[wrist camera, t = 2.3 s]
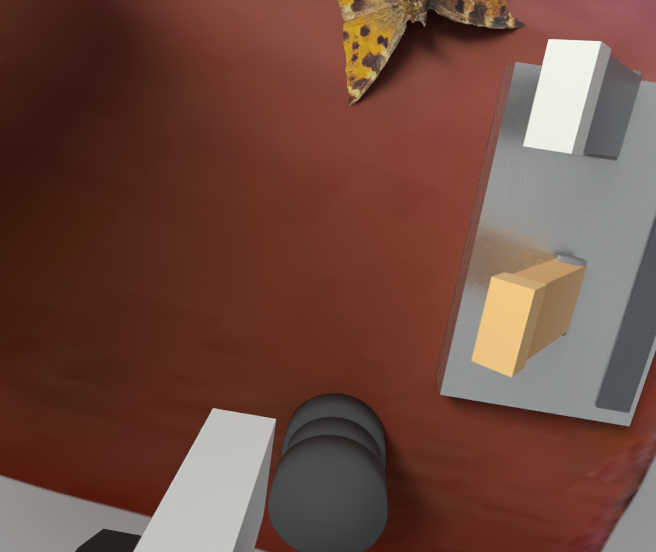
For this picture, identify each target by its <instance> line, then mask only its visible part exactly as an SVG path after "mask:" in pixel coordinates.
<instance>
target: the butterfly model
mask: <svg viewBox="0 0 656 552" xmlns="http://www.w3.org/2000/svg"><path fill="white" fill-rule="evenodd" d="M338 3H339V5H340V7H341V12H342V17H343V19H344V21H345V23H344V30H343V40H344V48H345V52H346V61H347V65H346V69H345V70H346V73H347V79H348V80H347V88H348V90H349V104H350V106H351V105H353V104H354V103H355V102H357V101H358V100H359V99H360V98H361V96H362V95H363V94H364V93H365V92H366V91H367V90H368V88H369V87H370V86H371V85H372V83H373V82H374V81H375V79H376V78H377V77H378V75H379V74H380V71H381V70H382V69H383V67H384V65H385V64H386V62H387V61H388V59H389V57H390V56H391V54H392V53H393V51H394V50H395V48H396V47H397V45H398V43H399V41H400V39H401V37H402V36H403V34H404V31H405V29H406V23H407V21H408V20H411V22H412V23H414V22H416V21H419V22H421V23H422V24H423V25H424V27H425V25H426V19H427V12H429V11H430V10H433V11H435V12H436V13H437V14H438V15H441V16H444V17H446V18H448V19H451V20H453V21H455V22H459V23H464V24H471V25H476V26H478V27H487V28H492V29H504V28H510V29H513V28H518V27H522V26H524V24H523V23H522V22H519V21H517V18H515V19H514V18H512V16H511V14H510V12H509V11H508V7H507V6H508V5H507V3H506V2H505V0H338ZM461 20H462V21H461ZM354 34H355V35H354ZM362 34H363V35H362ZM356 36H357V38H356ZM382 39H383V40H382ZM348 42H349V43H348ZM357 53H358V55H357ZM352 56H353V57H352ZM352 63H353V65H352ZM376 65H377V66H376ZM348 66H349V67H348Z"/></svg>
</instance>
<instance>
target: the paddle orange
mask: <svg viewBox="0 0 656 552" xmlns="http://www.w3.org/2000/svg"><path fill="white" fill-rule="evenodd" d="M586 268H587V261H586V260H584V259H582V258H578V257H575V256H570V255H563V254H559V255H557V258H556V259H553V260H550V261H547V262H544V263H542V264H539V265H536V266H533V267H530V268H528V269H525V270H522V271H519V272H516V273H514V274H510V273H507V272H504V273H501V274H498V275H495V276H492V277H491V281H490V285H489V289H488V293H487V298H486V302H485V306H484V310H483V314H482V318H481V323H480V327H479V331H478V335H477V339H476V343H475V347H474V352H473V356H472V360H471V361H473V362H475V363H478V364H480V365H482V366H485V367H487V368H490V369H492V370H495V371H497V372H499V373H502V374H504V375H507V376H509V377H511V378H512V377H513V376H515V375H516V374H517V373H519V372H520V371H521V370H523V369H524V368H525V364H526V361H527V360H528V359H529V358H531V357H532V356H534V355H535V354H536V353H538V352H539V351H541V350H542V349H543V348H545V347H546V346H548V345H549V344H550V343H552V342H553V341H555V340H556V339H557V338H559V337H560V336H565V335H566V333H567V331H568V330H569V326H570V323H571V319H572V316H573V313H574V309H575V306H576V302H577V299H578V295H579V292H580V288H581V285H582V282H583V278H584V275H585V271H586Z"/></svg>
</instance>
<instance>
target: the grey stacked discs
mask: <svg viewBox="0 0 656 552" xmlns="http://www.w3.org/2000/svg"><path fill="white" fill-rule="evenodd" d="M385 463H386V456H385V434H384V428H383V425H382V423H381V421H380V419H379V417H378V416H377V414H376V413H375V412H374V411H373V410H372V408H370V407H369V406H368V405H367V404H365V403H364V402H362V401H361V400H359V399H357V398H354V397H351V396H348V395H344V394H324V395H320V396H316V397H314V398H311V399H310V400H308V401H306V402H305V403H303V404H302V405H301V406H300V407H299V408H298V409H297V410H296V411H295V413H294V414H293V416H292V417H291V420H290V422H289V425H288V429H287V433H286V436H285V440H284V444H283V448H282V458H281V460H280V462H279V464H278V466H277V469H276V473H275V477H274V480H273V484H272V488H271V491H270V495H269V501H268V510H269V516H270V520H271V522H272V524H273V527H274V528H275V530H276V532H277V533H278V534H279V536H280V537H281V538H282V539H283V540H284V541H285V542H286V543H287V544H289V545H290V546H291V547H293V548H294V549H296V550H298V551H300V552H363V551H364V550H366V549H368V548H369V547H370V546H371V545H373V544H374V543H375V542H376V541H377V539H378V538H379V537H380V535H381V534H382V532H383V530H384V528H385V525H386V522H387V515H388V509H387V483H386V476H385V472H384V470H385Z"/></svg>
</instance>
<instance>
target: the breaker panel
mask: <svg viewBox="0 0 656 552" xmlns="http://www.w3.org/2000/svg"><path fill="white" fill-rule="evenodd" d="M541 69H542V66H538V65H532V64H525V63H518V62H515V63H512V64H509V65H507V66H505V67H504V72H503V76H502V81H501V85H500V90H499V94H498V99H497V103H496V108H495V112H494V117H493V121H492V126H491V130H490V135H489V139H488V144H487V148H486V153H485V157H484V162H483V166H482V171H481V175H480V180H479V184H478V189H477V193H476V198H475V202H474V207H473V211H472V216H471V220H470V225H469V229H468V234H467V238H466V243H465V247H464V252H463V256H462V261H461V265H460V270H459V274H458V279H457V283H456V288H455V292H454V297H453V301H452V306H451V310H450V315H449V319H448V324H447V328H446V333H445V337H444V342H443V346H442V351H441V355H440V360H439V364H438V369H437V373H436V380H437V384H438V388H439V392H440V395H445V396H451V397H457V398H463V399H469V400H475V401H481V402H487V403H493V404H499V405H505V406H511V407H517V408H523V409H529V410H535V411H541V412H547V413H553V414H559V415H565V416H571V417H577V418H583V419H589V420H594V421H600V422H606V423H612V424H618V425H624V426H630V423H631V420H632V418H633V415H634V412H635V409H636V406H637V403H638V400H639V397H640V394H641V391H642V389H643V386H644V383H645V380H646V377H647V374H648V371H649V368H650V365H651V362H652V360H653V357H654V354H655V351H656V83H655V82H648V81H641V83H640V86H639V90H638V93H637V96H636V100H635V103H634V107H633V110H632V114H631V117H630V120H629V124H628V127H627V131H626V134H625V138H624V141H623V144H622V148H621V151H620V155H619V157H618V158H617V161H615V160H608V159H601V158H595V157H589V156H585V153H583V155H577V154H569V153H563V152H557V151H550V150H544V149H538V148H532V147H525V146H523V144H524V140H525V136H526V132H527V127H528V123H529V119H530V115H531V111H532V107H533V102H534V98H535V94H536V90H537V86H538V82H539V78H540V73H541ZM559 254H563V255H570V256H575V257H578V258H582V259H584V260H586V261H587V268H586V271H585V275H584V278H583V282H582V285H581V288H580V292H579V295H578V299H577V302H576V306H575V309H574V313H573V316H572V319H571V323H570V326H569V330H568V331H567V333H566V335H565V336H560V337H559V338H557V339H556V340H555V341H553V342H552V343H550V344H549V345H548V346H546V347H545V348H543V349H542V350H541V351H539V352H538V353H536V354H535V355H534V356H532V357H531V358H529V359H528V360H527V361H526V364H525V368H524V369H523V370H521V371H520V372H519V373H517V374H516V375H515V376H513V377H512V378H511V377H509V376H507V375H504V374H502V373H499V372H497V371H495V370H492V369H490V368H487V367H485V366H482V365H480V364H478V363H475V362H473V361H471V360H472V356H473V352H474V347H475V343H476V339H477V335H478V331H479V327H480V323H481V318H482V314H483V310H484V306H485V302H486V298H487V293H488V289H489V285H490V281H491V277H492V276H495V275H498V274H501V273H504V272H507V273H510V274H514V273H516V272H519V271H522V270H525V269H528V268H530V267H533V266H536V265H539V264H542V263H544V262H547V261H550V260H553V259H556V258H557V255H559Z"/></svg>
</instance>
